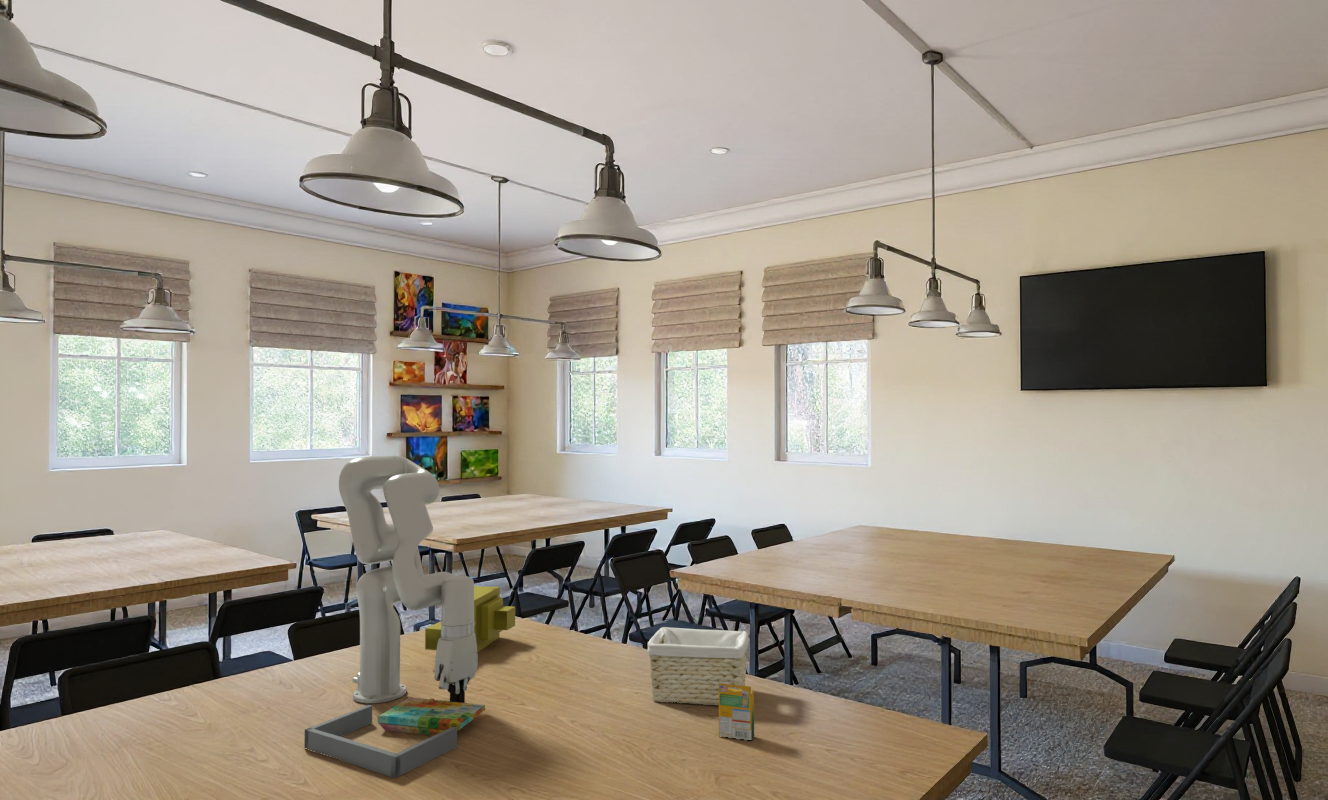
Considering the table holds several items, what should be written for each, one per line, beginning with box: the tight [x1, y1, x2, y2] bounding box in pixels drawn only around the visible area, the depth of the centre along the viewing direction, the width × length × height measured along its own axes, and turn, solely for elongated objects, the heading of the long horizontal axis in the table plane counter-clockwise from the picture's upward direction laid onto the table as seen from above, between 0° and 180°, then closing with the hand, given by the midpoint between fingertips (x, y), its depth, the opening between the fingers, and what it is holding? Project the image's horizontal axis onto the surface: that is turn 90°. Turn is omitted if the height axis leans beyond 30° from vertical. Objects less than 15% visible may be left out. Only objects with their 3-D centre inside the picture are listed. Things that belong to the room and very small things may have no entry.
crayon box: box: [718, 683, 755, 741], centre depth 165 cm, size 7×3×12 cm, turn 71°
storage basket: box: [647, 626, 750, 706], centre depth 191 cm, size 24×16×15 cm
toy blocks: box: [424, 585, 516, 653], centre depth 229 cm, size 35×16×16 cm
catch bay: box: [303, 704, 458, 779], centre depth 160 cm, size 27×16×4 cm, turn 60°
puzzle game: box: [377, 696, 486, 736], centre depth 172 cm, size 12×5×20 cm
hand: (457, 708), depth 179 cm, fingers closed
